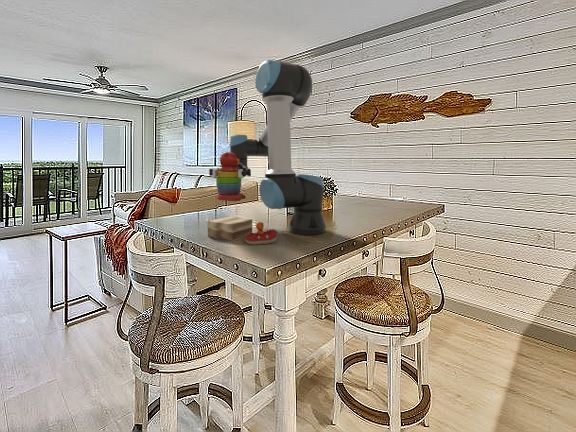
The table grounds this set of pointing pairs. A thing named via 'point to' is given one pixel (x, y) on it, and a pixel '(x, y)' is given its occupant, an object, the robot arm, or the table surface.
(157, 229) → the table surface
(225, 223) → the pedestal
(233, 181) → the stacking bear
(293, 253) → the table surface
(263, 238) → the toy boat
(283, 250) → the table surface
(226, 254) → the table surface
